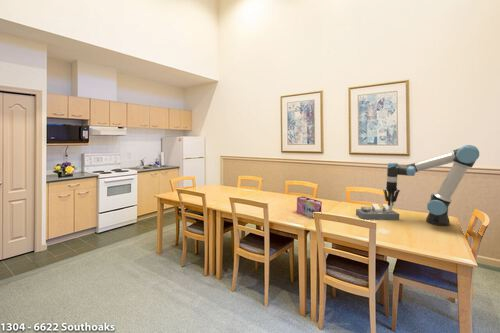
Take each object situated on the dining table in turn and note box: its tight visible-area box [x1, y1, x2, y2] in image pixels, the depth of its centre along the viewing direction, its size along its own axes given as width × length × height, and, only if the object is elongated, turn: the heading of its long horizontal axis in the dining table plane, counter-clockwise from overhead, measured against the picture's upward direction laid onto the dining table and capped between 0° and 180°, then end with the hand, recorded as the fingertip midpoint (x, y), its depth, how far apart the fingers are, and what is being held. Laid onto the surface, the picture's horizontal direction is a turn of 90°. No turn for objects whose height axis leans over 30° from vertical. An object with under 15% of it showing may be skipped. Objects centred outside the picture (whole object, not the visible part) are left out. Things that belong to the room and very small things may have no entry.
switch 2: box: [381, 203, 394, 212], centre depth 220 cm, size 5×9×2 cm, turn 179°
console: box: [355, 206, 400, 221], centre depth 219 cm, size 30×14×8 cm, turn 89°
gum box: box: [296, 196, 323, 219], centre depth 226 cm, size 24×8×14 cm, turn 33°
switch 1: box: [371, 203, 382, 212], centre depth 220 cm, size 5×9×2 cm, turn 179°
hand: (390, 209), depth 215 cm, fingers closed
